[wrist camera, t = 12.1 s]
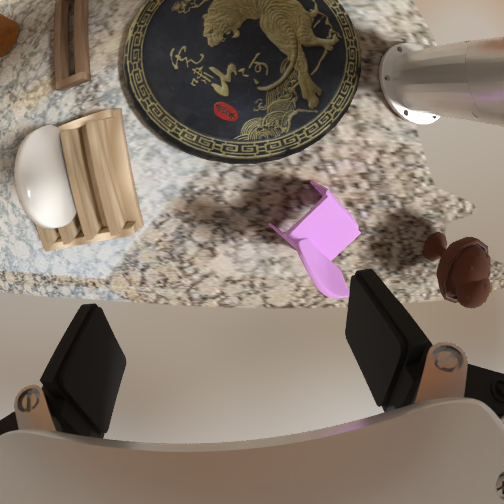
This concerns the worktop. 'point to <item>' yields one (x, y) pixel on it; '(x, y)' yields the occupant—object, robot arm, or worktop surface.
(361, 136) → the worktop surface
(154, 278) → the worktop surface
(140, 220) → the dish rack
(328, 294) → the toy chair
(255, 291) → the worktop surface
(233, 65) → the decorative plate
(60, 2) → the plate stand
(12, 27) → the disposable coffee cup
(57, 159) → the side plate
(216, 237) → the worktop surface
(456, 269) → the ice cream bowl
